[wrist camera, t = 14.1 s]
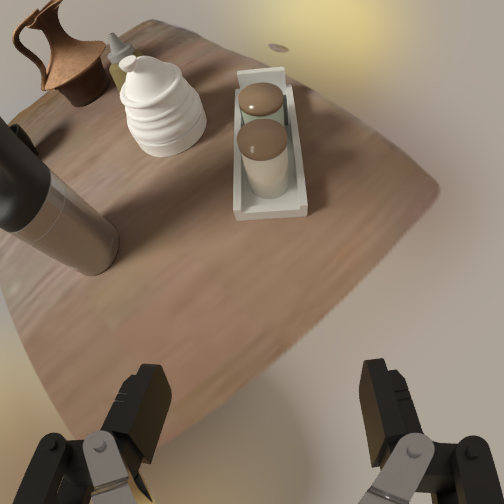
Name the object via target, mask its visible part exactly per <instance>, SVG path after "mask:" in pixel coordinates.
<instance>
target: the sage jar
mask: <svg viewBox="0 0 504 504" xmlns="http://www.w3.org/2000/svg"><path fill="white" fill-rule="evenodd" d="M238 102H239V106H240V108H241V111H242V116H243V120H244V125H245V124H246V123H248V122H250V121H253V120H256V119H272V120H275V121H277V122H279V123H280V124H282V125H283V126H284V128H285V124H284V112H283V93H282V90H281V89H280V88H279V87H278V86H276V85H274V84H271V83H265V82H261V83H254V84H251V85H249V86H247V87H245V88H244V89H243V90H242V91H241V92H240V93H239V95H238Z"/></svg>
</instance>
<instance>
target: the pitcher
mask: <svg viewBox="0 0 504 504" xmlns="http://www.w3.org/2000/svg"><path fill="white" fill-rule="evenodd" d="M62 1H63V0H51V1H50V2H49V3H47V4H46V5H45V6H44V7H43V9H42V10H41V11H39V10H38V9H36V10H34V11H33V13H31V15H29V16H28V17H27V18H26V19H25V20H24V21H23V22H21V23H20V24H19V25H18V26H17V28H16V29H15V31H14V33H13V37H12V40H13V44H14V45H15V47H16V48H17V50H18V51H19V52H21V53H22V54H23V55H25V56H26V57H27V58H29V59H30V60H31V61H32V62H34V63H35V64H36V65H37V67H38V68H39V69H40V72H41V76H42V82H41V90H42V91H46V90H50V89H55V90H57V89H58V90H59V91H60V92H61V93H62V94H63V95H64V96H65V97H66V98H67V99H68V100H69V101H70V102H71V104H72V105H73V106H75V107H81V106H85V105H87V104H89V103H91V102H93V101H94V100H95V99H97V98H98V97H99V96H101V95H102V94H103V93H104V91H105V90H106V89H107V87H108V85H109V79H108V77H107V75H106V73H105V70H104V68H103V65H102V62H101V59H100V56H101V54H102V53H103V52H104V50H105V47H106V44H105V43H104V42H102V41H79V40H76V39H74V38H72V37H70V36H69V35H68V34H67V33H66V32H65V31H64V30H63V28H62V27H61V25H60V22H59V19H58V8H59V4H60V3H61V2H62ZM25 26H27V27H28V28H32V29H38V30H42V31H43V33H44V34H45V36H46V38H47V40H48V42H49V45H50V49H51V58H50V62H49V65H48V68H47V70H46V68H45V66H44V64H43V62H42V61H41V60H40V59H39V58H38V57H37V56H36V55H35V54H34V53H32V52H31V51H30V50H28V49H27V48H26V47H24V45H23V44H22V43H21V42H20V40H19V34H20V32H21V31H22V29H23V28H24V27H25Z"/></svg>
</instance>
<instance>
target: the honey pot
mask: <svg viewBox="0 0 504 504" xmlns="http://www.w3.org/2000/svg"><path fill="white" fill-rule="evenodd" d="M119 67H120V68H121V69H122V70H123V71H124V72H127V75H126V81H125V83H124V84H123V86H122V88H121V91H120V99H121V101H122V103H123V104H124V105H125V111H126V113H127V125H128V128H129V130H130V132H131V133H132V135H133V136H134V138H135V140H136V141H137V143H138V144H139V146H140V147H141V149H142V150H143V151H145V152H146V153H147V154H149V155H152V156H156V157H168V156H173V155H176V154H179V153H181V152H183V151H185V150H187V149H189V148H190V147H191V146H193V145H194V144H195V143H196V142H197V141H198V140H199V139H200V137H201V136H202V135H203V133H204V130H205V128H206V122H207V119H206V115H205V112H204V109H203V106H202V103H201V100H200V97H199V94H198V93H197V92H196V90H195V89H194V88H193V87H191V86H190V85H189V83H188V82H187V81H186V80H185V78H183V77H182V73H181V70H180V69H179V68H178V66H176V65H174V64H172V63H166V62H162V61H160V60H158V59H156V58H154V57H150V56H139V57H137V58H136V56H134V55H131V56H127V57H125V58H124V59H122V60H121V61H120V62H119Z"/></svg>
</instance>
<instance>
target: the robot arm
mask: <svg viewBox="0 0 504 504" xmlns="http://www.w3.org/2000/svg"><path fill="white" fill-rule="evenodd" d="M0 228H2V229H3V230H5V231H7V232H8V233H10V234H12V235H13V236H15V237H17V238H18V239H20V240H22V241H24V242H25V243H27V244H29V245H31V246H32V247H34V248H36V249H38V250H39V251H41V252H43V253H45V254H46V255H48V256H50V257H52V258H54V259H56V260H57V261H59V262H61V263H63V264H65V265H67V266H68V267H70V268H72V269H74V270H76V271H78V272H80V273H82V274H84V275H87V276H95V275H98V274H100V273H102V272H103V271H105V270H106V269H107V268H108V267H109V266H110V265H111V263H112V262H113V260H114V259H115V257H116V254H117V251H118V247H119V236H118V232H117V230H116V228H115V227H114V226H113V225H112V224H111V223H110V222H109V221H107V220H106V219H105V218H104V217H103V216H102V215H101V214H99V213H98V212H97V211H96V210H95V209H94V208H93V207H91V206H90V205H89V204H88V203H87V202H86V201H85V200H83V199H82V198H81V197H80V196H79V195H78V194H77V193H76V192H75V191H73V190H72V189H71V188H70V187H69V186H68V185H67V184H66V183H65V182H63V181H62V180H61V179H60V178H59V177H58V176H57V175H56V174H55V173H54V172H53V171H51V170H50V169H49V168H48V167H47V166H46V165H45V164H44V163H43V162H42V161H41V160H40V159H39V158H38V157H37V156H36V155H35V154H34V153H33V152H32V151H31V150H30V149H29V148H28V147H27V146H26V145H25V144H24V143H23V142H22V141H21V140H20V139H19V138H18V137H17V136H16V135H15V133H14V132H13V131H12V130H11V129H10V128H9V127H8V125H7V124H6V123H5V122H4V121H3V119H2V118H1V117H0ZM118 393H119V394H117V396H116V398H115V402H114V403H113V405H112V407H111V409H110V411H109V413H108V415H107V417H106V419H105V421H104V424H103V426H102V428H101V430H100V431H95V432H93V433H91V434H89V435H88V436H87V437H86V439H85V440H71V441H67V440H66V439H65V438H64V437H63V436H62V435H61V434H59V433H49V434H47V435H45V436H44V437H43V438H42V439H41V441H40V442H39V444H38V446H37V449H36V451H35V453H34V455H33V457H32V459H31V462H30V464H29V466H28V468H27V470H26V473H25V475H24V477H23V480H22V482H21V484H20V487H19V489H18V491H17V494H16V496H15V499H14V502H13V504H89V502H90V499H91V497H92V500H93V503H94V504H156V502H155V500H154V498H153V496H152V494H151V492H150V490H149V488H148V486H147V484H146V482H145V480H144V478H143V476H142V473H141V471H140V470H139V468H140V465H141V463H146V464H151V462H152V458H153V455H154V452H155V449H156V446H157V443H158V440H159V437H160V434H161V431H162V428H163V425H164V422H165V418H166V415H167V412H168V409H169V406H170V403H171V399H172V392H171V388H170V386H169V383H168V381H167V378H166V376H165V373H164V371H163V368H162V366H161V365H156V364H142V365H141V366H140V368H139V370H138V372H137V374H136V375H131V376H130V377H129V378H128V379H127V380H126V381H124V382H123V384H122V386H121V388H120V390H119V392H118ZM359 399H360V404H361V409H362V414H363V419H364V425H365V430H366V436H367V441H368V447H369V453H370V459H371V466H372V468H373V467H379V466H380V470H381V472H380V473H379V475H378V476H377V478H376V479H375V481H374V482H373V484H372V485H371V487H370V488H369V489H368V490H367V492H366V493H365V494H364V496H363V497H362V499H361V500H360V502H359V503H358V504H409V502H410V500H411V498H412V496H413V494H414V492H423V493H431V497H432V504H504V498H503V494H502V490H501V486H500V482H499V479H498V475H497V471H496V468H495V464H494V461H493V457H492V454H491V451H490V448H489V445H488V443H487V442H486V441H485V440H484V439H483V438H481V437H479V436H468V437H465V438H464V439H462V440H461V441H460V442H459V443H458V444H450V443H449V444H448V443H437V442H434V441H432V440H431V439H430V438H429V437H428V436H426V435H425V434H424V433H423V431H422V429H421V425H420V422H419V419H418V416H417V413H416V410H415V407H414V404H413V401H412V400H411V395H410V392H409V391H408V386H407V383H406V381H405V378H404V377H403V376H402V375H401V374H400V373H399V372H398V371H397V370H390V371H388V370H387V367H386V364H385V361H384V359H383V358H380V359H372V360H365V361H364V363H363V368H362V374H361V380H360V385H359ZM63 476H64V477H63ZM62 478H63V479H62ZM61 481H62V482H61ZM60 483H61V485H60ZM59 486H60V487H59ZM58 489H59V490H58ZM57 492H58V493H57Z"/></svg>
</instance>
